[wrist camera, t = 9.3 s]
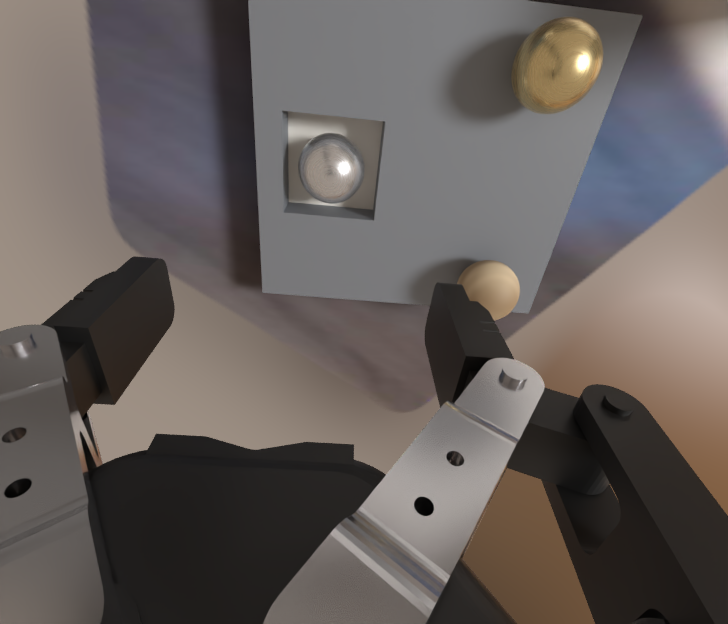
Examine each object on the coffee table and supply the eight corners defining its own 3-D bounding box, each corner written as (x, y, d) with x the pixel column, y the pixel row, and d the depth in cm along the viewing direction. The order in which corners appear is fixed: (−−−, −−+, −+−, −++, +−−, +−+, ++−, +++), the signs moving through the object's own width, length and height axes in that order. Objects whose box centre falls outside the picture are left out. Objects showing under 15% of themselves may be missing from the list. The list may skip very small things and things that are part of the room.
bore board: (258, -25, 23) (246, -36, 21) (613, 20, 24) (643, 15, 22) (269, 275, 34) (262, 292, 31) (516, 295, 35) (528, 313, 33)
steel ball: (302, 124, 27) (293, 135, 23) (367, 131, 27) (368, 143, 23) (302, 190, 29) (293, 209, 26) (361, 195, 30) (361, 215, 26)
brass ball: (513, 16, 22) (546, 6, 18) (590, 25, 22) (638, 18, 18) (491, 106, 24) (516, 114, 20) (561, 113, 25) (598, 123, 21)
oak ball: (457, 247, 29) (472, 275, 26) (515, 252, 30) (538, 280, 26) (445, 298, 32) (456, 330, 28) (498, 303, 32) (517, 335, 28)
